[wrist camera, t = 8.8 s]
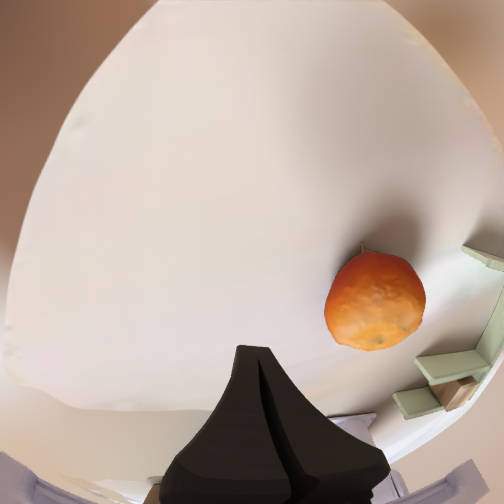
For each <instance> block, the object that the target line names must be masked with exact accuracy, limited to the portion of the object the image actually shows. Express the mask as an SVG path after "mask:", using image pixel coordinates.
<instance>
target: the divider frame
mask: <svg viewBox="0 0 504 504" xmlns="http://www.w3.org/2000/svg"><path fill="white" fill-rule="evenodd" d="M461 251H462V252H464V253H466V254H468V255H469V256H471V257H473V258H475V259H477V260H479V261H480V262H482V263H484V264H486V267H488V268H491V269H495V270H498V271H502V272H504V259H502V258H499V257H497V256H494V255H491V254H488V253H485V252H481V251H478V250H475V249H472V248H469V247H466V246H462V249H461ZM503 348H504V288H503V290H502V293H501V295H500V298H499V300H498V303H497V305H496V307H495V310H494V312H493V314H492V316H491V318H490V321H489V323H488V325H487V327H486V329H485V331H484V333H483V335H482V337H481V339H480V341H479V342H478V344H477V346H476V348H475V350H469V351H463V352H456V353H449V354H441V355H433V356H424V357H415V359H414V363H415V364H416V365H417V367H418V368H419V369H420V371H421V372H422V373H423V374H424V376H425V377H426V378H427V380H428V381H429V384H430V386H432V385H436V384H441V383H445V382H449V381H453V380H457V379H461V378H465V377H468V376H473V377H474V379H475V380H476V381H478V382H479V385H478V386H477V388H476V389H475V391H474V392H473V394H472V395H471V396H470V398H469V399H468V400H470V399H471V398H472V396H473V395H474V393H475V392H476V391H477V389H478V388H479V386H480V385H481V383H482V382H483V380H484V379H485V377H486V376H487V374H488V373H489V371H490V370H491V368H492V366H493V365H494V363H495V362H496V360H497V358H498V356H499V355H500V353H501V351H502V349H503ZM392 396H393V398H394V400H395V402H396V403H397V405H398V407H399V408H400V410H401V412H402V413H403V415H404V419H405V420H408V419H412V418H416V417H420V416H423V415H427V414H430V413H434V412H437V411H440V410H443V409H445V408H444V406H443V405H442V404H441V402H440V401H439V399H438V398H437V397H436V395H435V394H434V393H433V391H432V390H431V388H430V387H424V388H419V389H413V390H408V391H402V392H395V393H394V394H393V395H392ZM468 400H467V401H468Z"/></svg>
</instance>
